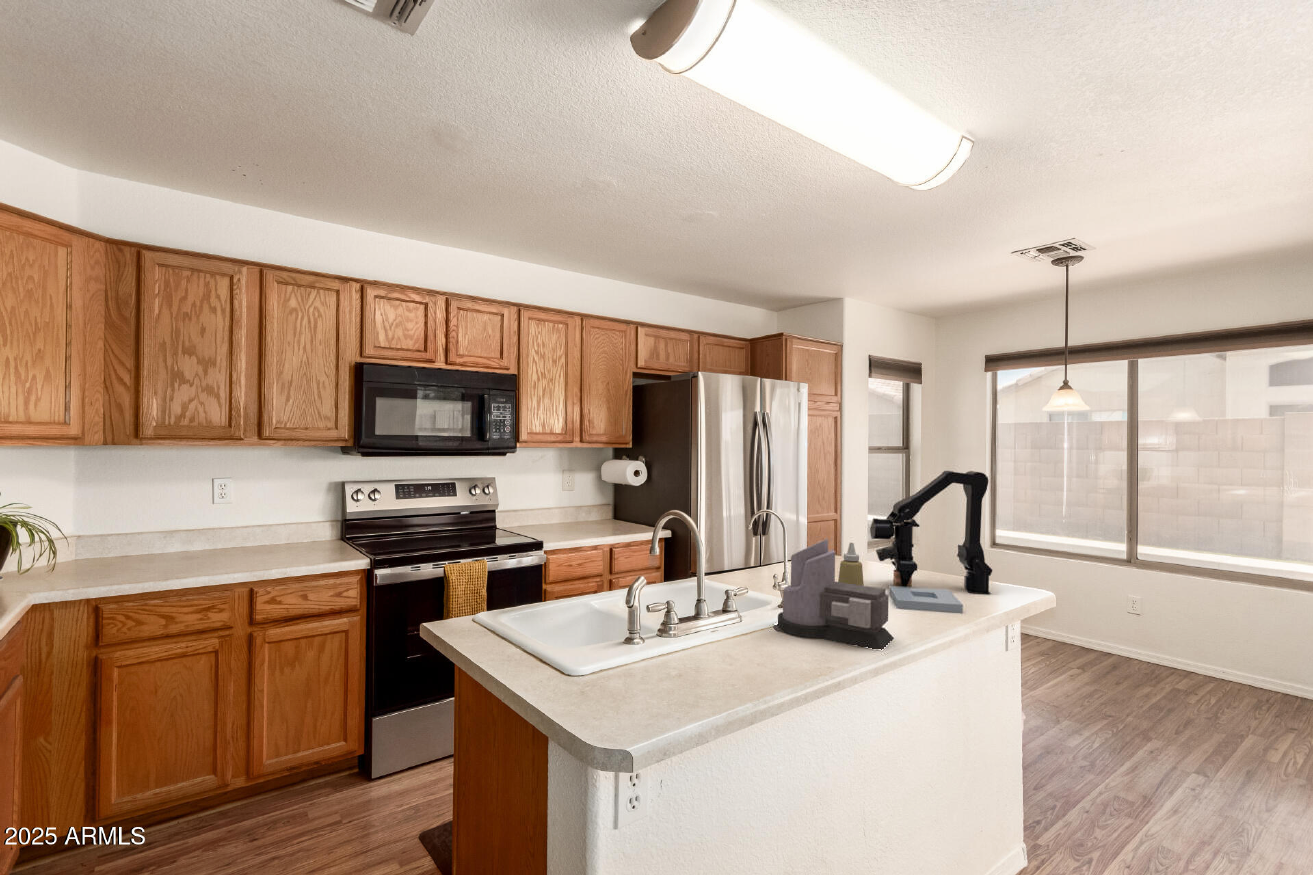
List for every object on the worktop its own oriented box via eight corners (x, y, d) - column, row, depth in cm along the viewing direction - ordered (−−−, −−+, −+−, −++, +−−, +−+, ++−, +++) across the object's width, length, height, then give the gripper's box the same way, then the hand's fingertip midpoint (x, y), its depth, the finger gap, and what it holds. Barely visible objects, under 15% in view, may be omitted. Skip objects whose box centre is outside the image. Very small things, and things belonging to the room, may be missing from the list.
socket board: (948, 597, 204) (949, 589, 204) (962, 613, 186) (962, 604, 186) (889, 593, 208) (889, 585, 208) (897, 608, 190) (897, 600, 190)
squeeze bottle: (846, 596, 204) (847, 539, 203) (869, 601, 197) (870, 543, 197) (831, 600, 199) (832, 542, 198) (854, 605, 192) (855, 546, 192)
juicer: (762, 630, 168) (764, 537, 168) (786, 615, 181) (788, 529, 181) (880, 654, 151) (882, 551, 151) (896, 636, 165) (898, 541, 164)
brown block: (908, 588, 215) (909, 570, 215) (911, 591, 211) (911, 573, 210) (893, 587, 217) (893, 569, 216) (895, 590, 212) (895, 572, 212)
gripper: (874, 533, 224) (873, 578, 224) (881, 543, 206) (880, 591, 206) (908, 535, 222) (907, 580, 222) (918, 545, 203) (917, 593, 204)
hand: (902, 586), depth 214 cm, fingers open, 5 cm apart
